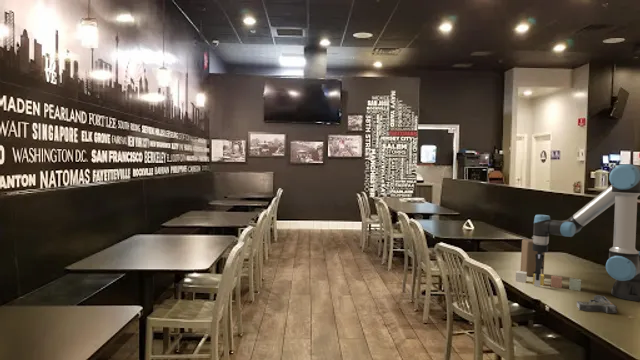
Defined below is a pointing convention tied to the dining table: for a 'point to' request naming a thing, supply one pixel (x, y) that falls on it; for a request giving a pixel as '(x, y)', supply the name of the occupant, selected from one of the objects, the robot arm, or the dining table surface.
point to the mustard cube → (540, 279)
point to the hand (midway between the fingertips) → (537, 283)
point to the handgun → (597, 305)
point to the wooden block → (529, 257)
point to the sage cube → (575, 284)
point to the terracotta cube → (556, 281)
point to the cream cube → (521, 276)
